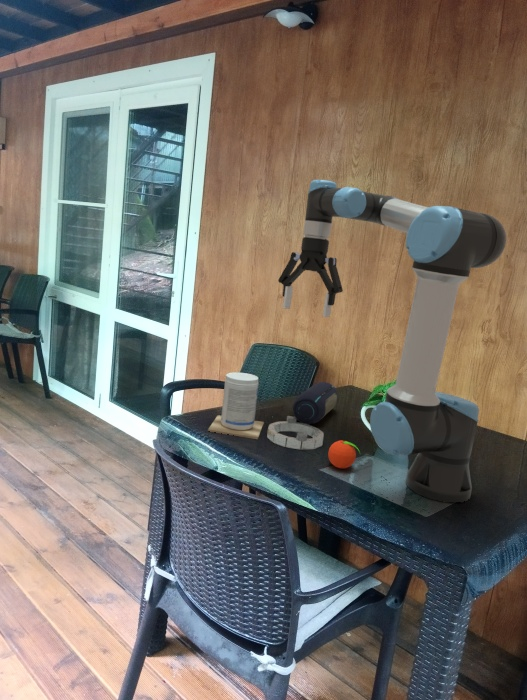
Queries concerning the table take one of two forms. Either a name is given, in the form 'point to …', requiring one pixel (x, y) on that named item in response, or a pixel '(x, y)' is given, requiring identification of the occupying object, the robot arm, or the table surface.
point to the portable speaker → (315, 403)
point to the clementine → (342, 454)
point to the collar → (301, 438)
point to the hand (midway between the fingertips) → (305, 312)
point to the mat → (248, 433)
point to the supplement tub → (239, 401)
